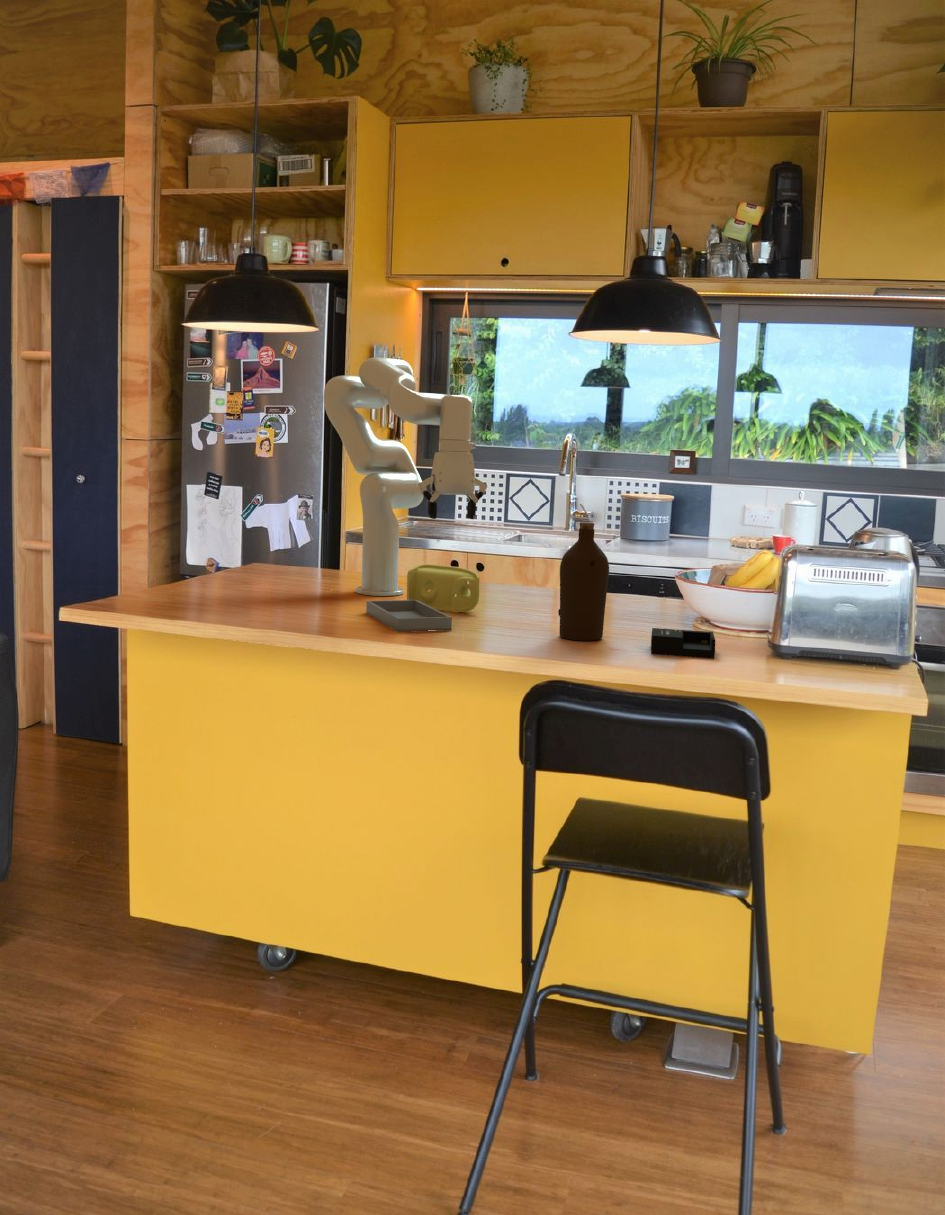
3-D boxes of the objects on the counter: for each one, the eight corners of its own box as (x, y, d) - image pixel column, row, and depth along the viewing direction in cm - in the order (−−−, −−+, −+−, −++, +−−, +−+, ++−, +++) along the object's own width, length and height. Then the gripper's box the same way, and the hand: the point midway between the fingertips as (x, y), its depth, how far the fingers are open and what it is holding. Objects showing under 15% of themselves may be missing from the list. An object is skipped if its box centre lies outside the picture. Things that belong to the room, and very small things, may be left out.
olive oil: (615, 638, 248) (621, 524, 244) (583, 643, 241) (589, 525, 237) (578, 630, 255) (584, 519, 251) (546, 635, 248) (552, 521, 244)
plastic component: (406, 606, 280) (407, 566, 278) (421, 602, 286) (422, 563, 285) (478, 615, 271) (479, 573, 270) (491, 611, 278) (493, 570, 276)
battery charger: (650, 654, 233) (651, 635, 233) (650, 646, 243) (651, 627, 242) (714, 658, 231) (716, 639, 231) (712, 650, 241) (713, 631, 240)
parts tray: (366, 613, 267) (366, 600, 267) (416, 612, 272) (416, 599, 271) (397, 632, 245) (397, 618, 244) (451, 630, 249) (451, 617, 249)
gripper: (482, 447, 279) (479, 517, 282) (415, 445, 273) (413, 516, 275) (493, 449, 272) (490, 520, 275) (425, 446, 266) (422, 519, 269)
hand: (451, 518), depth 275 cm, fingers open, 9 cm apart
